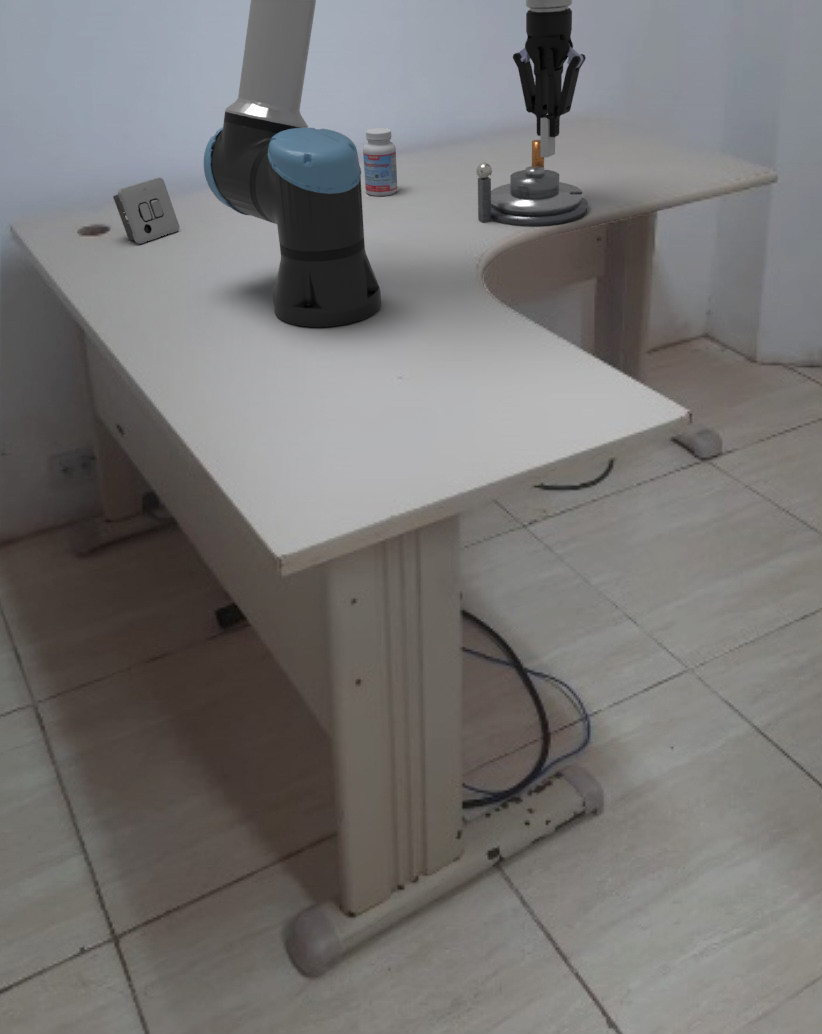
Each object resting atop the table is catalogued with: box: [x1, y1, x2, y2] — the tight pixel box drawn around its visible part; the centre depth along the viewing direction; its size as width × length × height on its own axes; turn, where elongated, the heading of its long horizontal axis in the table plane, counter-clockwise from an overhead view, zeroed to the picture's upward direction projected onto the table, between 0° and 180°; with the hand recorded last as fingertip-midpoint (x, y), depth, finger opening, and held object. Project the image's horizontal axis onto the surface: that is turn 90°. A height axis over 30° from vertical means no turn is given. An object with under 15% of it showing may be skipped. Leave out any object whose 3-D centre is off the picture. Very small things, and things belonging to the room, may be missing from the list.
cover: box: [509, 165, 560, 200], centre depth 183 cm, size 8×8×4 cm
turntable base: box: [491, 196, 589, 227], centre depth 185 cm, size 18×18×1 cm
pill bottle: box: [362, 127, 398, 197], centre depth 197 cm, size 6×6×11 cm
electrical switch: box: [112, 177, 180, 245], centre depth 181 cm, size 9×5×9 cm, turn 141°
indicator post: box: [476, 162, 493, 223], centre depth 179 cm, size 3×3×10 cm
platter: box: [491, 139, 583, 215], centre depth 182 cm, size 16×17×8 cm
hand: (547, 155), depth 187 cm, fingers closed
